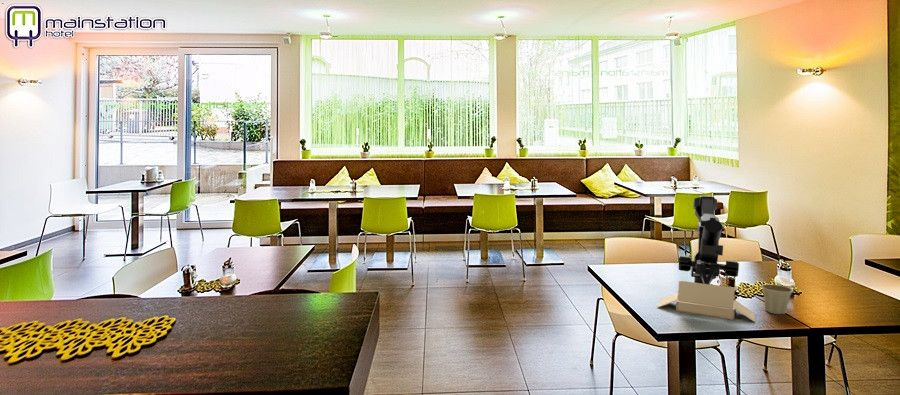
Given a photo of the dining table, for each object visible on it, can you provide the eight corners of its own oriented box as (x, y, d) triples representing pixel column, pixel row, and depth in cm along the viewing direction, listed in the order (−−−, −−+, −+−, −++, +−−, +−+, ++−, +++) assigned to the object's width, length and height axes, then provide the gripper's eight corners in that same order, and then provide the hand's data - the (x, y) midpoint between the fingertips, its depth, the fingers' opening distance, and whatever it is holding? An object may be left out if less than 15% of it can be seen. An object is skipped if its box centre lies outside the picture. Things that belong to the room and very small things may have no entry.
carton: (661, 296, 200) (662, 287, 200) (753, 309, 186) (753, 299, 186) (657, 308, 187) (657, 297, 186) (755, 322, 173) (756, 311, 172)
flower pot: (796, 317, 179) (798, 292, 178) (765, 315, 181) (767, 290, 180) (784, 308, 188) (786, 285, 187) (755, 306, 190) (757, 283, 189)
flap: (677, 300, 183) (679, 280, 182) (733, 307, 175) (734, 287, 174) (677, 300, 182) (679, 281, 181) (733, 308, 175) (734, 288, 174)
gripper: (680, 233, 185) (676, 270, 177) (740, 238, 177) (739, 277, 168) (680, 251, 193) (676, 287, 184) (738, 257, 185) (736, 295, 176)
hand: (706, 286), depth 178 cm, fingers closed, pressing on flap
